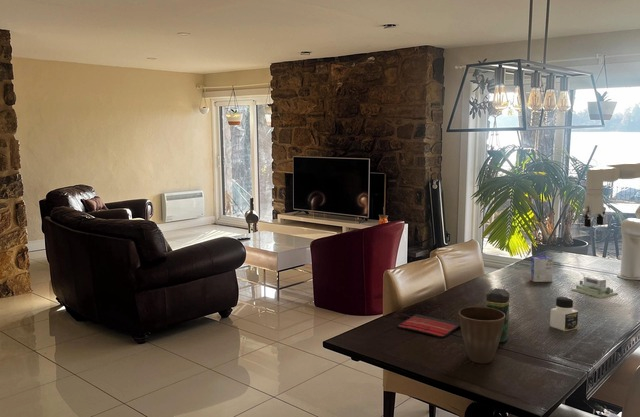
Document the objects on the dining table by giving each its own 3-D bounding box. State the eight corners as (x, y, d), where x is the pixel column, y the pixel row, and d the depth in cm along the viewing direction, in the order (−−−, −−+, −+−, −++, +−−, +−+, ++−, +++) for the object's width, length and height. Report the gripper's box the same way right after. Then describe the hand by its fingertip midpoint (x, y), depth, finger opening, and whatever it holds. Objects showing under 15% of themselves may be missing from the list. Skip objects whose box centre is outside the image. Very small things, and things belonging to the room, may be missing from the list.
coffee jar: (505, 344, 201) (506, 294, 198) (482, 341, 204) (484, 291, 202) (510, 336, 209) (511, 288, 207) (488, 333, 213) (489, 285, 211)
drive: (589, 287, 273) (589, 275, 272) (605, 291, 265) (606, 279, 264) (583, 288, 271) (583, 276, 270) (599, 292, 263) (600, 280, 262)
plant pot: (511, 367, 181) (512, 319, 179) (466, 369, 180) (467, 321, 178) (493, 350, 195) (494, 305, 194) (451, 351, 194) (452, 307, 192)
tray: (587, 286, 278) (588, 279, 277) (617, 294, 263) (618, 286, 263) (571, 290, 272) (571, 282, 272) (600, 298, 258) (601, 289, 258)
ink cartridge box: (548, 279, 293) (549, 252, 292) (552, 282, 288) (554, 254, 286) (529, 279, 294) (530, 252, 292) (533, 282, 288) (534, 254, 286)
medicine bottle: (565, 331, 214) (566, 301, 212) (549, 326, 220) (550, 296, 218) (577, 328, 217) (578, 298, 215) (562, 323, 223) (563, 294, 222)
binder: (415, 313, 233) (462, 323, 219) (415, 318, 233) (462, 329, 220) (395, 324, 220) (443, 336, 207) (395, 330, 221) (443, 342, 207)
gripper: (598, 190, 290) (597, 223, 292) (576, 193, 282) (576, 226, 284) (612, 191, 283) (611, 224, 286) (590, 194, 275) (589, 228, 277)
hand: (593, 225), depth 285 cm, fingers open, 9 cm apart
